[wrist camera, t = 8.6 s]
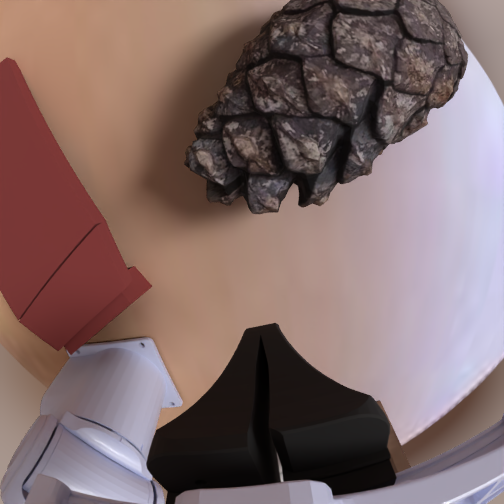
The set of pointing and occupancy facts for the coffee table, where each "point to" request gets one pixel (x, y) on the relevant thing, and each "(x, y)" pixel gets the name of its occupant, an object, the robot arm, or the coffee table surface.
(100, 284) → the carton
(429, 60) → the pine cone
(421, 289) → the coffee table surface
